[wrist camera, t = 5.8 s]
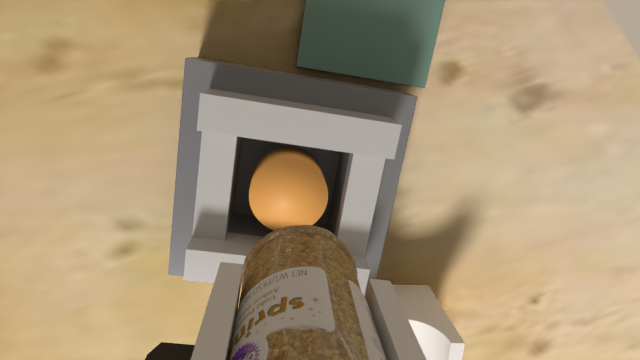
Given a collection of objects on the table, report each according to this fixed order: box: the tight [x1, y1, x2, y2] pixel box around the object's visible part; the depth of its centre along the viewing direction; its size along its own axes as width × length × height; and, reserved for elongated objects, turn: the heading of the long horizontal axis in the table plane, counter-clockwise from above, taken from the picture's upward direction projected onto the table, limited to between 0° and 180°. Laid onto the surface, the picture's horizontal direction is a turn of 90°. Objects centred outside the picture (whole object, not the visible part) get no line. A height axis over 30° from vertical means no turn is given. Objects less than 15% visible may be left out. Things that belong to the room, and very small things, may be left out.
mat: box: [296, 0, 445, 88], centre depth 28 cm, size 9×9×1 cm
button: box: [249, 147, 328, 230], centre depth 27 cm, size 5×5×3 cm
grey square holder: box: [168, 57, 417, 295], centre depth 28 cm, size 14×14×7 cm
